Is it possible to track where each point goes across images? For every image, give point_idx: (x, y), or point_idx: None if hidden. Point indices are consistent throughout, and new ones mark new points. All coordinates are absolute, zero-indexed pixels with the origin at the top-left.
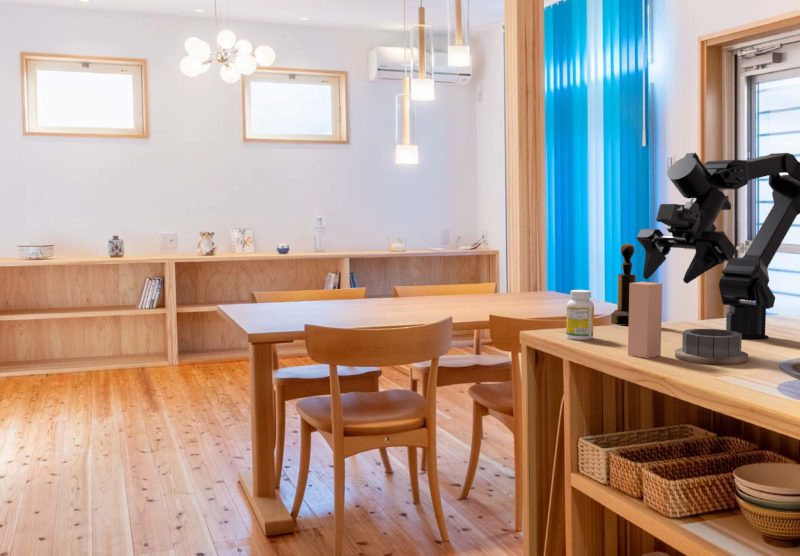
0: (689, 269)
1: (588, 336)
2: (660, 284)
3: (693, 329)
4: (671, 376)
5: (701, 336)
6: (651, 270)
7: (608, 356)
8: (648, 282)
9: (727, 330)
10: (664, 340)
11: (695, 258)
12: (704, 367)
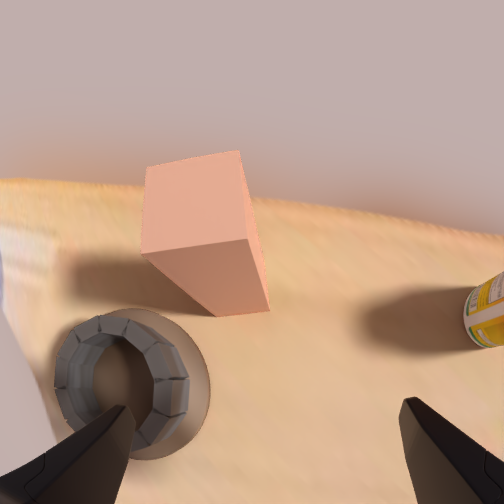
0: (81, 436)
1: (465, 316)
2: (142, 242)
3: (165, 400)
4: (99, 193)
5: (93, 317)
6: (418, 464)
7: (277, 216)
8: (207, 232)
9: None
10: (365, 486)
11: (32, 477)
12: (96, 292)
